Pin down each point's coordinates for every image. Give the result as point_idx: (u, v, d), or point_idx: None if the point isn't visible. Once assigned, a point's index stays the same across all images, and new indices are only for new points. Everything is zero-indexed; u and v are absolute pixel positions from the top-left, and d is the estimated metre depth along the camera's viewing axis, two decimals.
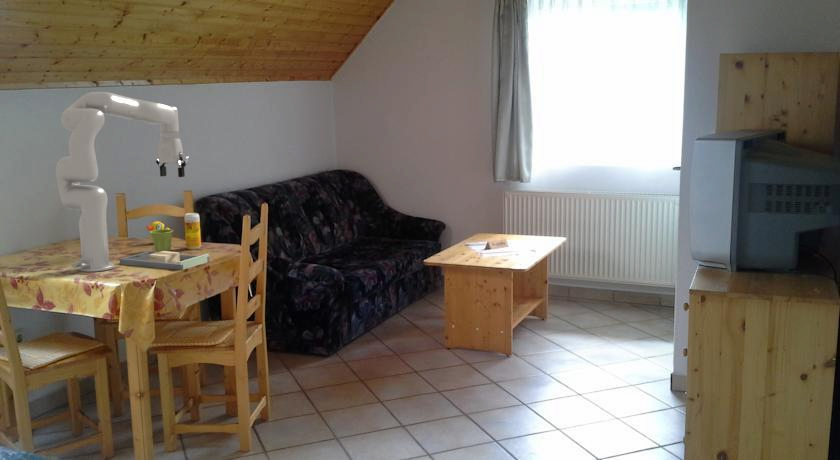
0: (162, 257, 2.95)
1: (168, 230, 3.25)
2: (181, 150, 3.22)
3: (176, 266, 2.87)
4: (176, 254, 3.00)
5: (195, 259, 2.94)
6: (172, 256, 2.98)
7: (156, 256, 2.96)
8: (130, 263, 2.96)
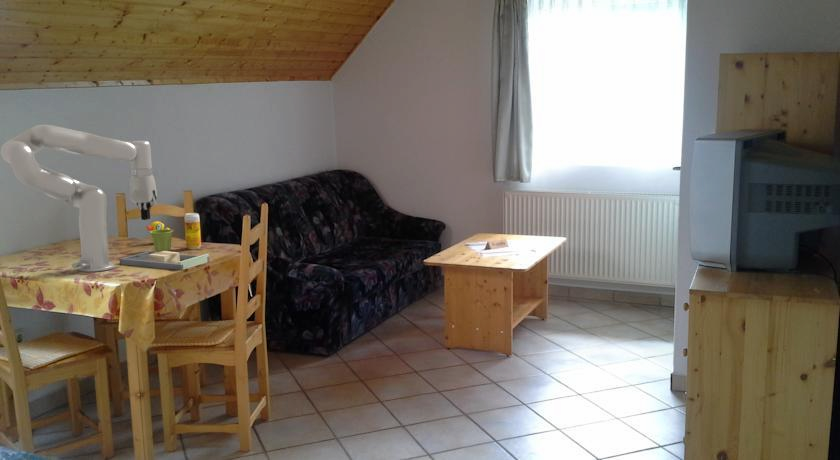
0: (161, 257, 2.95)
1: (168, 230, 3.25)
2: (154, 188, 2.97)
3: (176, 266, 2.87)
4: (176, 254, 3.00)
5: (195, 259, 2.94)
6: (172, 256, 2.98)
7: (156, 256, 2.96)
8: (130, 263, 2.96)
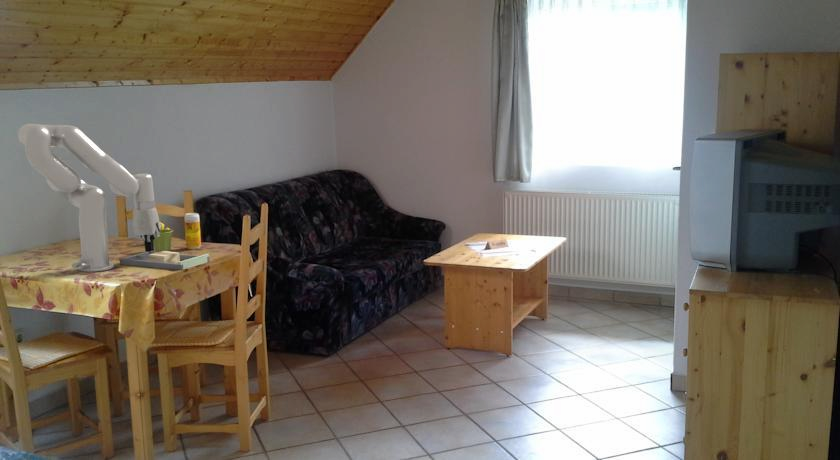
0: (161, 257, 2.95)
1: (168, 230, 3.25)
2: (157, 220, 3.00)
3: (176, 266, 2.87)
4: (176, 254, 3.00)
5: (195, 259, 2.94)
6: (171, 256, 2.98)
7: (155, 256, 2.96)
8: (130, 263, 2.96)
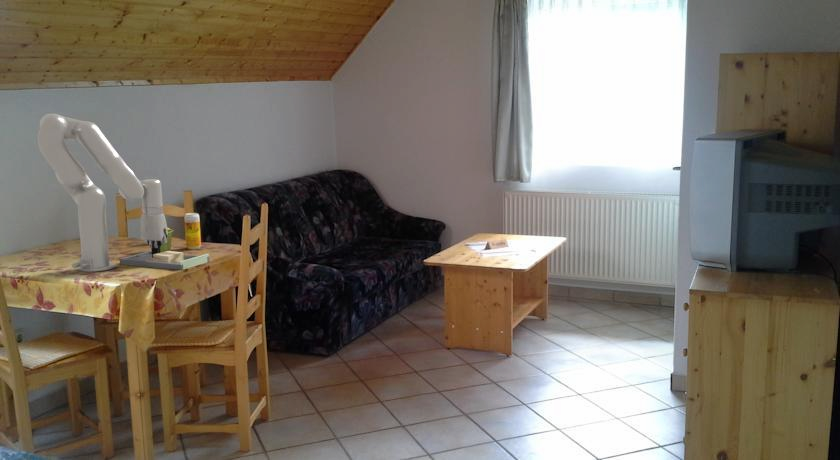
0: (165, 257, 2.94)
1: (168, 230, 3.25)
2: (165, 226, 2.98)
3: (176, 266, 2.87)
4: (180, 254, 2.99)
5: (195, 259, 2.94)
6: (175, 256, 2.97)
7: (159, 256, 2.96)
8: (130, 263, 2.96)
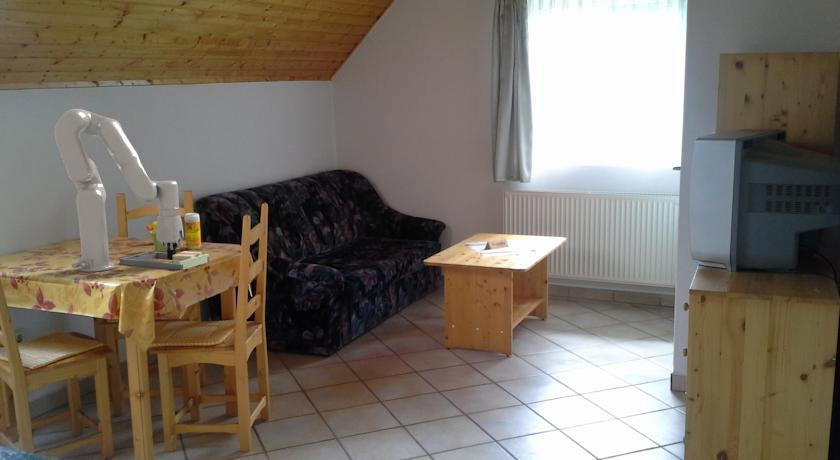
0: (187, 257, 2.93)
1: None
2: (181, 228, 2.95)
3: (176, 266, 2.87)
4: (199, 254, 2.99)
5: (195, 259, 2.94)
6: (196, 256, 2.97)
7: (181, 256, 2.94)
8: (130, 263, 2.96)
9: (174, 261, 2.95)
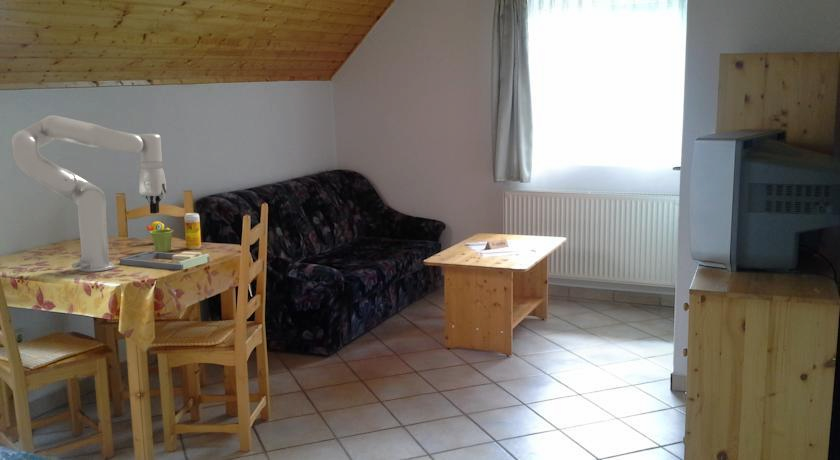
0: (187, 257, 2.93)
1: (168, 230, 3.25)
2: (164, 181, 2.95)
3: (176, 266, 2.87)
4: (199, 254, 2.99)
5: (195, 259, 2.94)
6: (196, 256, 2.97)
7: (180, 257, 2.94)
8: (130, 263, 2.96)
9: (174, 261, 2.95)
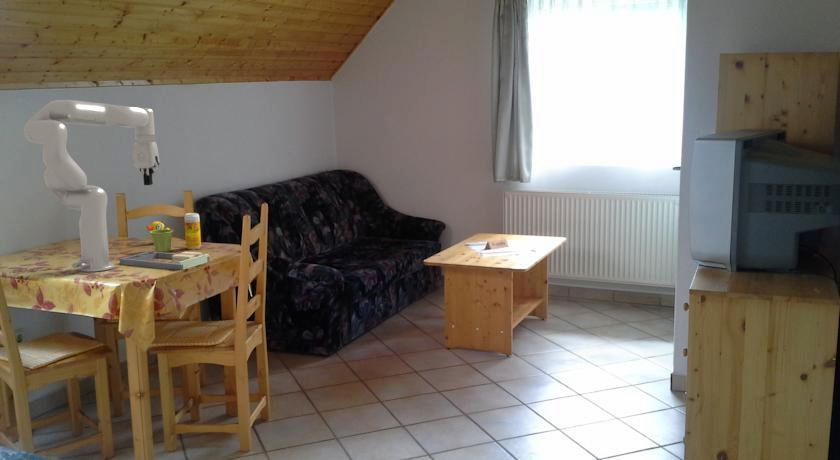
0: (186, 257, 2.93)
1: (168, 230, 3.25)
2: (157, 154, 3.07)
3: (176, 266, 2.87)
4: (199, 254, 2.99)
5: (195, 259, 2.94)
6: (196, 256, 2.97)
7: (180, 257, 2.94)
8: (130, 263, 2.96)
9: (174, 261, 2.96)
